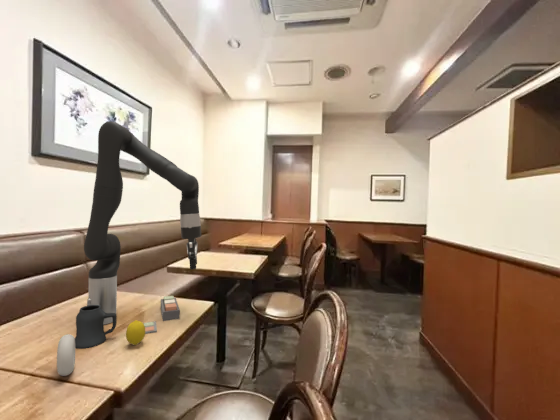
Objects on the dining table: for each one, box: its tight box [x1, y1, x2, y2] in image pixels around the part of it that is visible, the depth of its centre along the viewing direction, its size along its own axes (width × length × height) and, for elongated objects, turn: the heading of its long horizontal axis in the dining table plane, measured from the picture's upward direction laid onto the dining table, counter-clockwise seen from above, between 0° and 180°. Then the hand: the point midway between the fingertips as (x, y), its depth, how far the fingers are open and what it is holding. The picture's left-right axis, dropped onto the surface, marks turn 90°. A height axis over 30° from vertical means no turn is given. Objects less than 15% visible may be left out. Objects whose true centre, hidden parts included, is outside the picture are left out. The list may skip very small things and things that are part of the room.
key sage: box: [163, 295, 175, 302], centre depth 124 cm, size 4×4×2 cm
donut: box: [56, 333, 76, 377], centre depth 75 cm, size 10×3×10 cm, turn 32°
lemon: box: [125, 319, 146, 346], centre depth 91 cm, size 6×6×8 cm
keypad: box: [160, 297, 181, 322], centre depth 119 cm, size 6×17×4 cm, turn 25°
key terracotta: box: [165, 303, 177, 311], centre depth 114 cm, size 4×4×2 cm
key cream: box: [164, 299, 175, 307], centre depth 119 cm, size 4×4×2 cm
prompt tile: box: [142, 320, 158, 335], centre depth 103 cm, size 5×9×1 cm, turn 25°
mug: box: [74, 305, 118, 350], centre depth 93 cm, size 12×9×11 cm
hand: (193, 266), depth 111 cm, fingers open, 8 cm apart
